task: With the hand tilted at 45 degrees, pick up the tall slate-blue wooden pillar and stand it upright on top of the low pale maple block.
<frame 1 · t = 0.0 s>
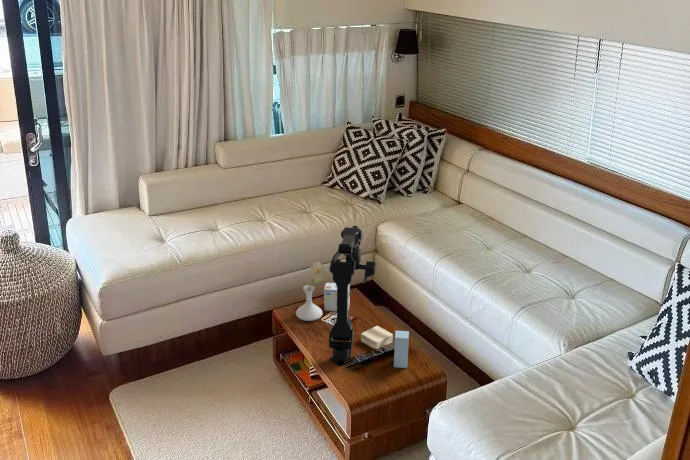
hand: (353, 282, 285), 15 cm above the table, tool pointing down, fingers open, 9 cm apart
flower in vase: (311, 316, 290), on the table
blue pillar: (400, 363, 257), on the table
light bulb box: (337, 308, 296), on the table
maple block: (376, 342, 271), on the table
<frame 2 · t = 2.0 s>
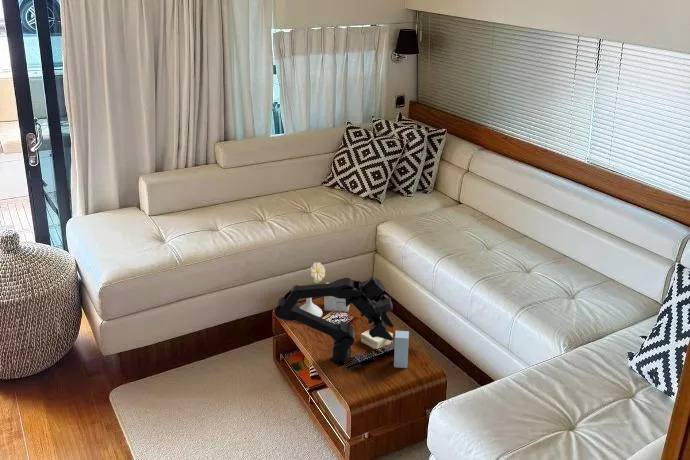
hand: (392, 333, 254), 13 cm above the table, tool tilted 45°, fingers open, 9 cm apart
nothing on the table moved.
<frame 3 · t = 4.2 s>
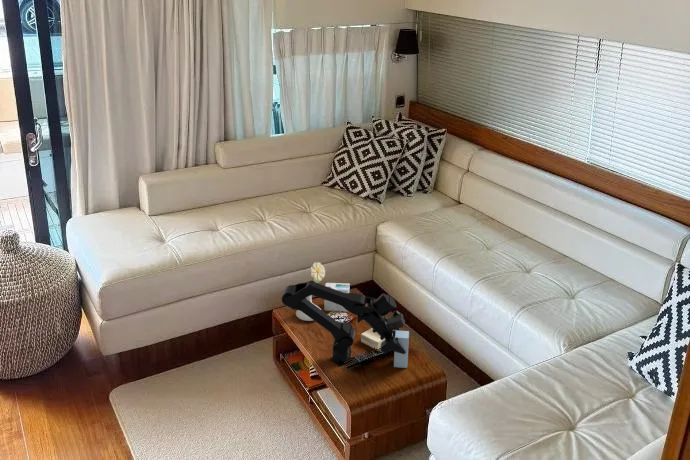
hand: (405, 349, 254), 7 cm above the table, tool tilted 45°, fingers closed on blue pillar, 5 cm apart
blue pillar: (400, 363, 257), on the table, touching gripper
everything else where it was.
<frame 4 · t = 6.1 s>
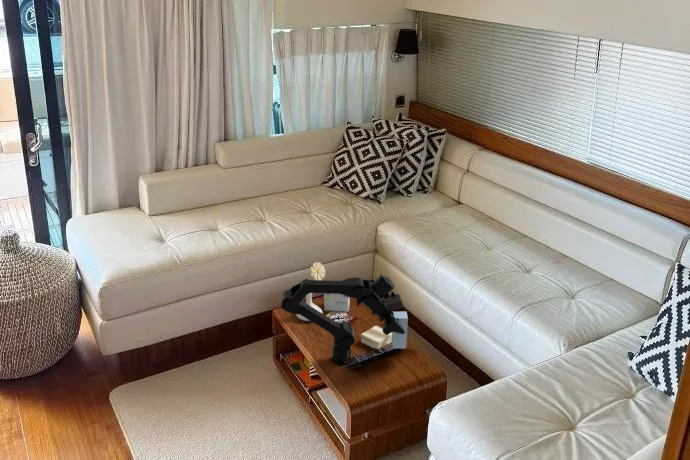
hand: (403, 329, 255), 13 cm above the table, tool tilted 45°, fingers closed on blue pillar, 5 cm apart
blue pillar: (398, 344, 258), point 6 cm above the table, touching gripper
everything else where it was.
when the fingers open (11 cm above the table, at t = 8.1 s): blue pillar drops 1 cm, point 4 cm above the table.
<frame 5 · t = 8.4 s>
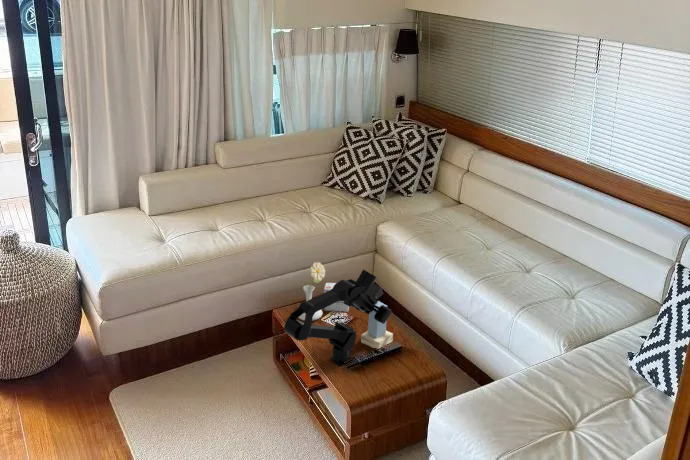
hand: (380, 315, 268), 12 cm above the table, tool tilted 45°, fingers open, 8 cm apart
blue pillar: (376, 333, 270), point 4 cm above the table
everything else where it was.
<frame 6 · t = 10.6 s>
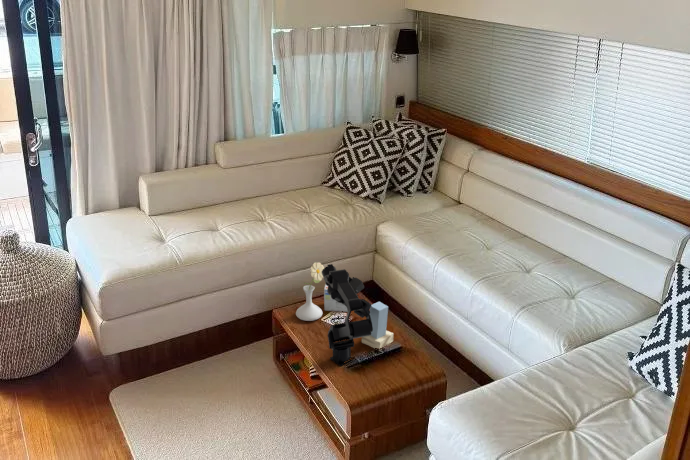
hand: (361, 308, 268), 14 cm above the table, tool tilted 45°, fingers open, 9 cm apart
blue pillar: (376, 334, 269), point 4 cm above the table, touching maple block
maple block: (377, 342, 272), on the table, touching blue pillar
everything else where it was.
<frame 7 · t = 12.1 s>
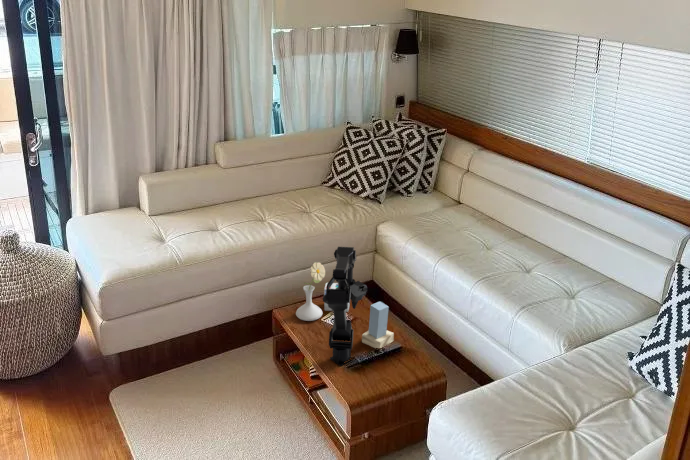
hand: (345, 312, 267), 13 cm above the table, tool pointing down, fingers open, 9 cm apart
nothing on the table moved.
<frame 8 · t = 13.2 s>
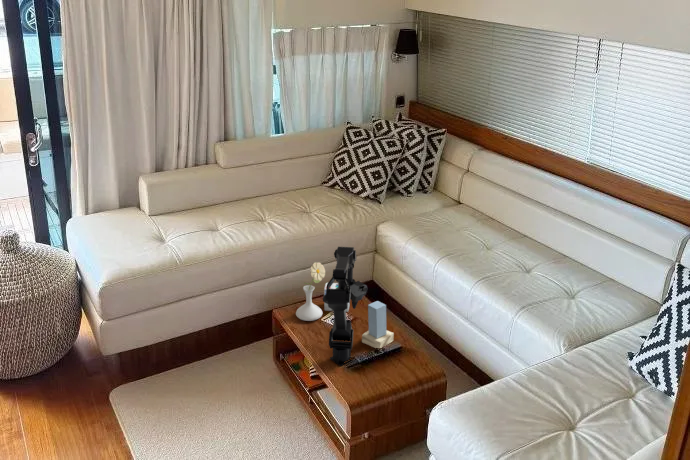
hand: (345, 312, 267), 13 cm above the table, tool pointing down, fingers open, 9 cm apart
blue pillar: (377, 333, 270), point 4 cm above the table
maple block: (377, 342, 272), on the table
everything else where it was.
at the end: blue pillar 0.4 cm off-centre on the maple block, point 4.2 cm above the maple block's base; blue pillar tilted 3°; the gripper is holding nothing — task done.
